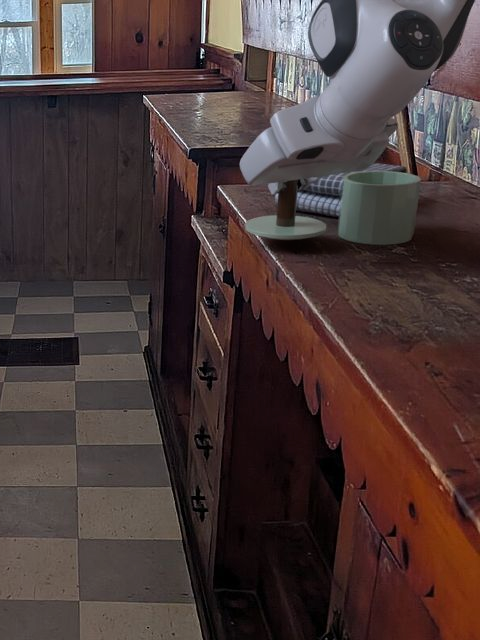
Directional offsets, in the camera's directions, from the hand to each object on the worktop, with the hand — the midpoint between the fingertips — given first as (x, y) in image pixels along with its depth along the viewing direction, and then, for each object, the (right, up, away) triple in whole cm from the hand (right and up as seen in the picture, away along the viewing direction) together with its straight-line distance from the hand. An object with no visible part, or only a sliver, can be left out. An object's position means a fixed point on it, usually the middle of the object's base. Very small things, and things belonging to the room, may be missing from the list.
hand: (285, 188), depth 123 cm
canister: (+15, -6, +5) cm, 17 cm away
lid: (0, -5, +2) cm, 6 cm away
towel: (+16, +1, +22) cm, 27 cm away
